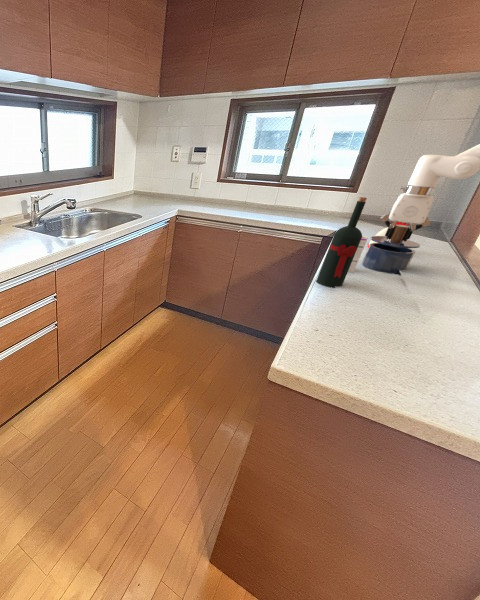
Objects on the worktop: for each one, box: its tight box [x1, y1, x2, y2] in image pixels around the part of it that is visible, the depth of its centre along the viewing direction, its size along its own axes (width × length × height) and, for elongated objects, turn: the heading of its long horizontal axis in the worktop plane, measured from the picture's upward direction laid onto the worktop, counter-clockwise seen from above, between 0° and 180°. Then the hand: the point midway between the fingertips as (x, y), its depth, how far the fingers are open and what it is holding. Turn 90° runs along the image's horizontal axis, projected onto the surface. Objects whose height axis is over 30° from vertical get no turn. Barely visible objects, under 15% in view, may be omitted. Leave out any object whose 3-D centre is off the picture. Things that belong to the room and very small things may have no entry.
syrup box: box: [348, 234, 369, 273], centre depth 126 cm, size 6×6×14 cm
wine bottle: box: [315, 196, 367, 289], centre depth 109 cm, size 8×10×30 cm
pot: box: [361, 243, 416, 275], centre depth 131 cm, size 14×19×8 cm
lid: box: [370, 225, 421, 249], centre depth 127 cm, size 15×15×7 cm
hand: (395, 238), depth 127 cm, fingers closed on lid, 4 cm apart
